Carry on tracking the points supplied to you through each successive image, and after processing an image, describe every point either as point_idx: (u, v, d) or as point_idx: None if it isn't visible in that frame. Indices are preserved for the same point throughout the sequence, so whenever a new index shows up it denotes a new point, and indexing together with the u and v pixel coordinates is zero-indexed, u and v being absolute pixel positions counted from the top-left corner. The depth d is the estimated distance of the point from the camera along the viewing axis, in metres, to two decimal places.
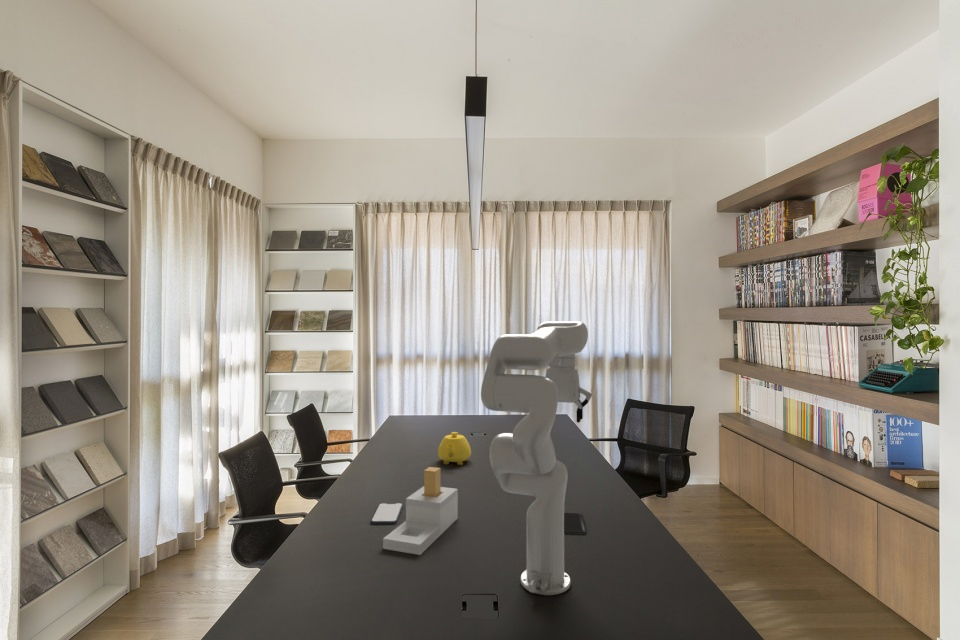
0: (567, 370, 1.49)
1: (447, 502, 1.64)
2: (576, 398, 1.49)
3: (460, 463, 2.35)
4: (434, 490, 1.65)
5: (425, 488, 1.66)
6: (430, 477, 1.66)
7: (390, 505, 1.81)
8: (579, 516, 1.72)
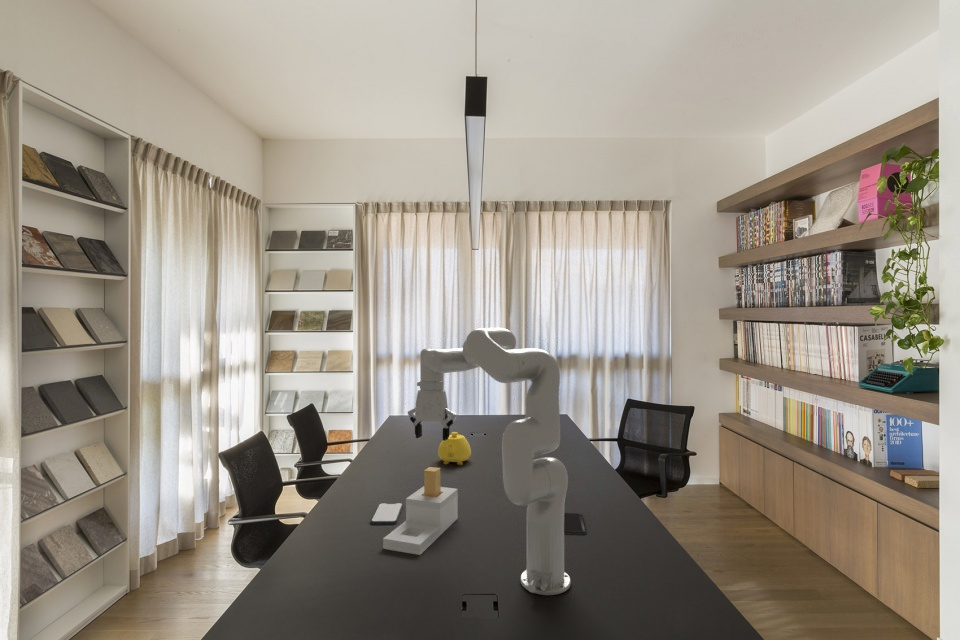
0: (434, 393, 1.64)
1: (447, 502, 1.64)
2: (441, 418, 1.63)
3: (460, 463, 2.35)
4: (434, 490, 1.65)
5: (425, 488, 1.66)
6: (430, 477, 1.66)
7: (390, 505, 1.81)
8: (579, 516, 1.72)
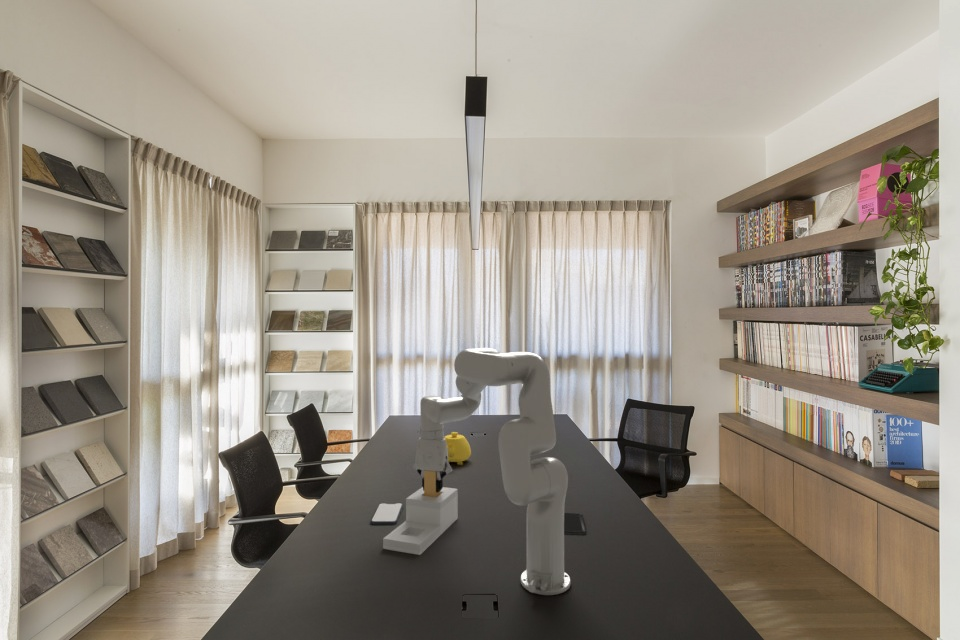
0: (434, 442, 1.64)
1: (447, 502, 1.64)
2: (441, 468, 1.64)
3: (460, 463, 2.35)
4: (434, 490, 1.65)
5: (425, 488, 1.66)
6: (430, 477, 1.66)
7: (390, 505, 1.81)
8: (579, 516, 1.72)
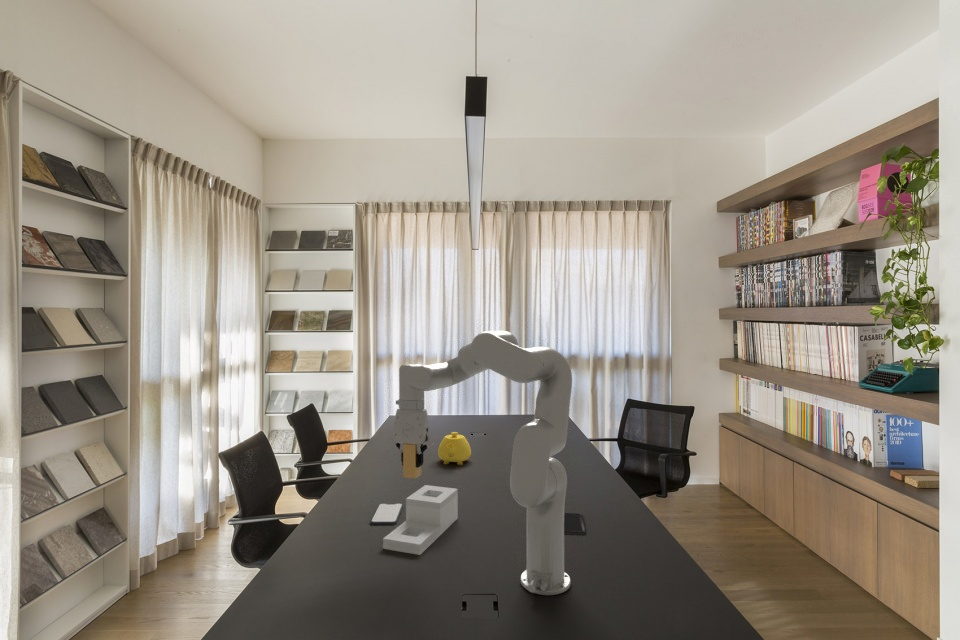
0: (414, 412, 1.51)
1: (447, 502, 1.64)
2: (422, 440, 1.50)
3: (460, 463, 2.35)
4: (414, 465, 1.52)
5: (404, 463, 1.53)
6: (409, 451, 1.52)
7: (390, 505, 1.81)
8: (579, 516, 1.72)
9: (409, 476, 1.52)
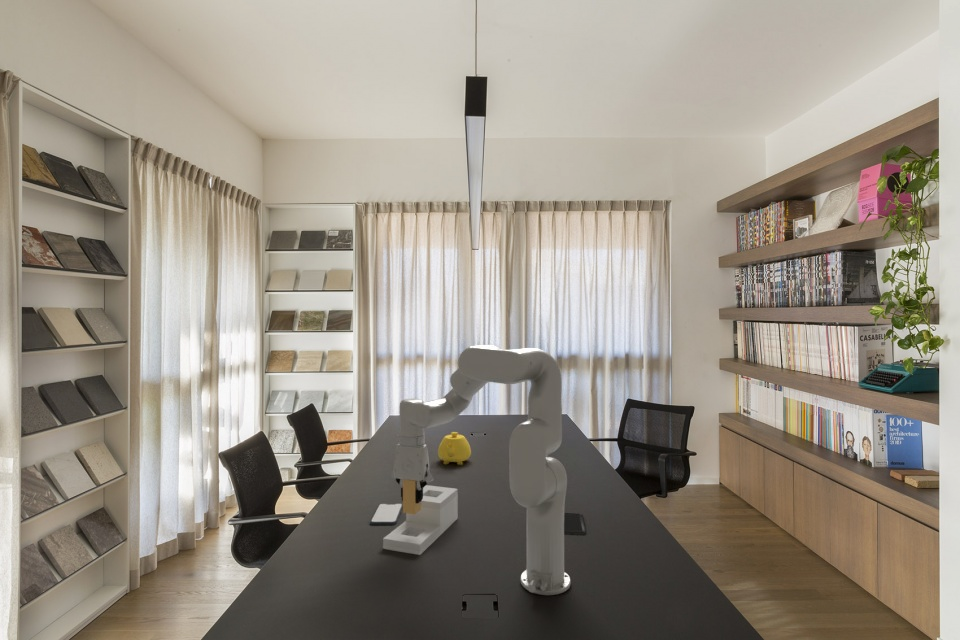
0: (414, 449, 1.51)
1: (447, 502, 1.64)
2: (421, 477, 1.50)
3: (460, 463, 2.35)
4: (413, 501, 1.52)
5: (404, 499, 1.53)
6: (409, 487, 1.52)
7: (390, 505, 1.81)
8: (579, 516, 1.72)
9: (409, 512, 1.53)
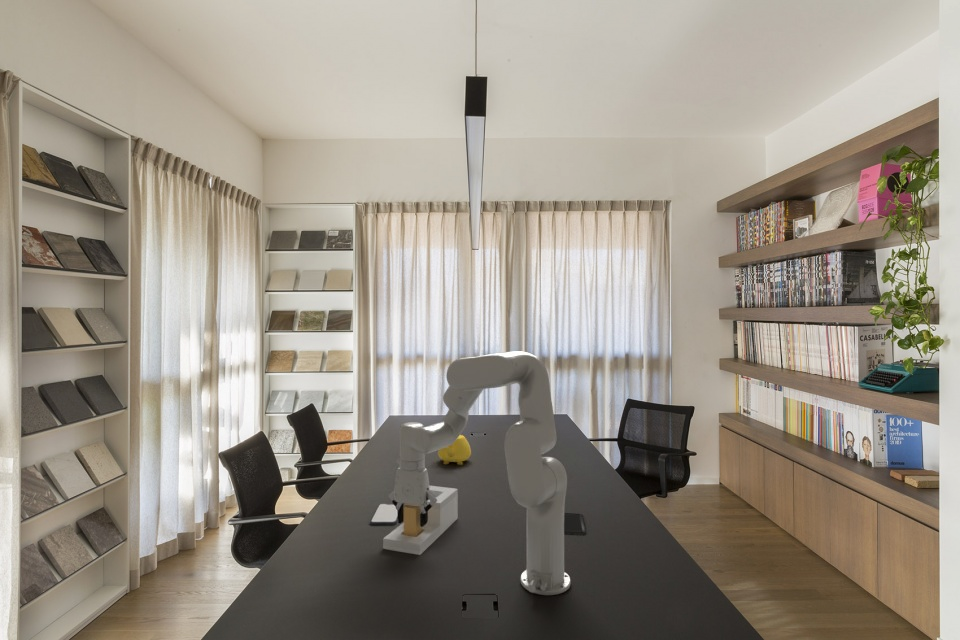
0: (414, 473, 1.51)
1: (447, 502, 1.64)
2: (422, 501, 1.50)
3: (460, 463, 2.35)
4: (414, 529, 1.52)
5: (405, 526, 1.53)
6: (410, 514, 1.52)
7: (390, 505, 1.81)
8: (579, 516, 1.72)
9: None
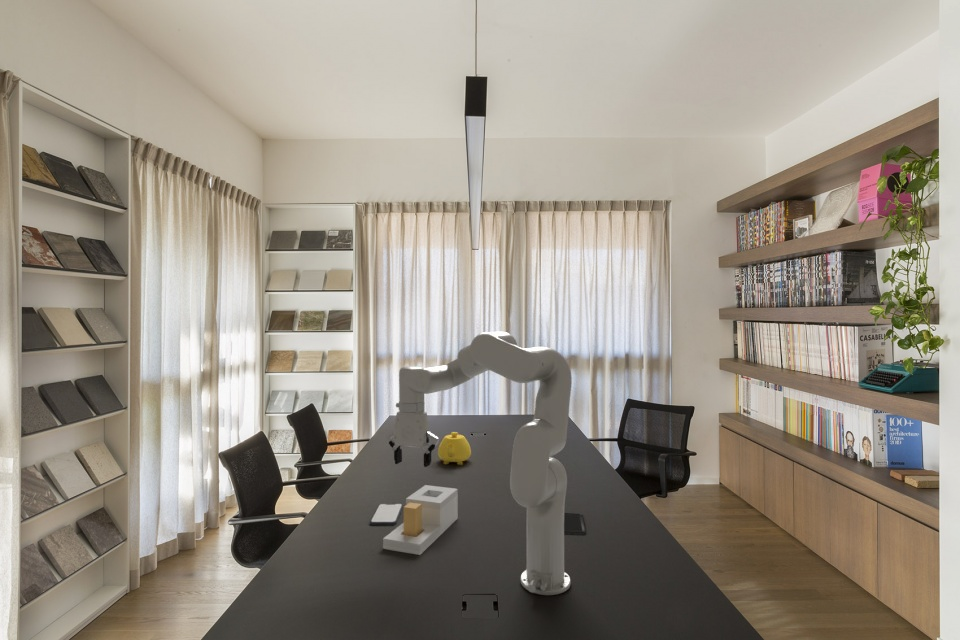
0: (414, 415, 1.51)
1: (447, 502, 1.64)
2: (422, 443, 1.50)
3: (460, 463, 2.35)
4: (414, 529, 1.52)
5: (405, 526, 1.53)
6: (410, 514, 1.52)
7: (390, 506, 1.81)
8: (579, 516, 1.72)
9: None
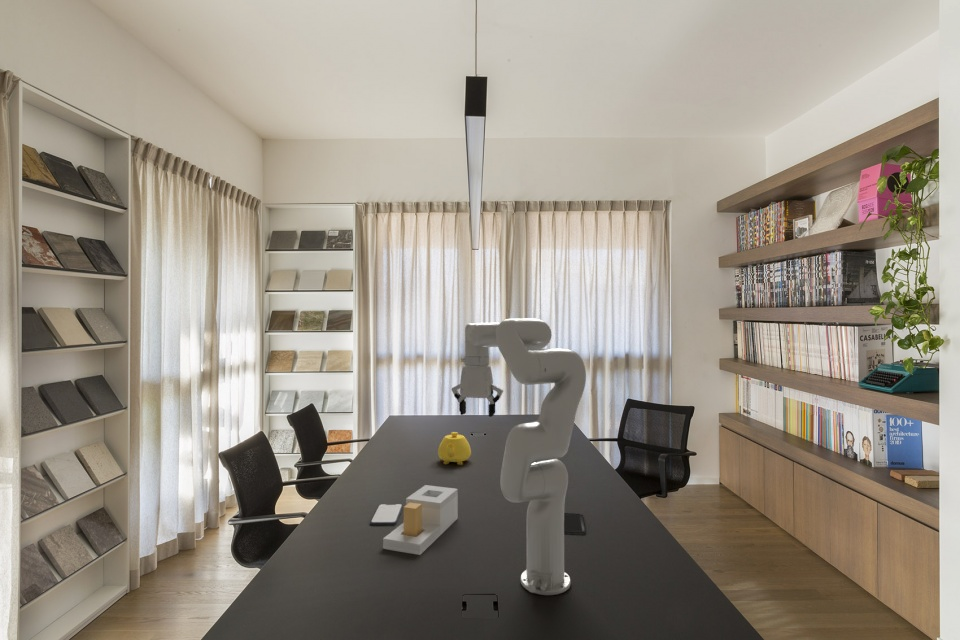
0: (480, 368, 1.61)
1: (447, 502, 1.64)
2: (488, 394, 1.60)
3: (460, 463, 2.35)
4: (414, 529, 1.52)
5: (405, 526, 1.53)
6: (410, 514, 1.52)
7: (390, 506, 1.81)
8: (580, 516, 1.72)
9: None
